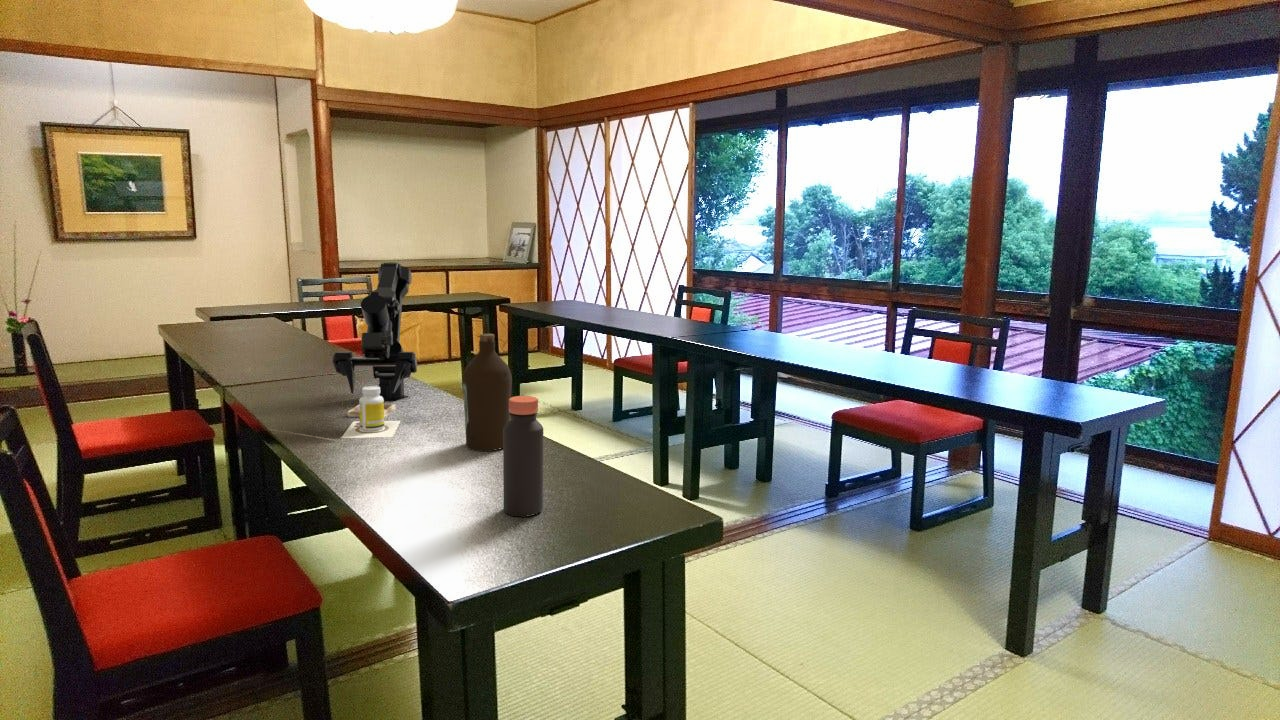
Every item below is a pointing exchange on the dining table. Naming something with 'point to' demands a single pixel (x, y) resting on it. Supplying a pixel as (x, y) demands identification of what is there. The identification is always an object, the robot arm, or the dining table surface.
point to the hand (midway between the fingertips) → (372, 392)
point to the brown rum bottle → (486, 397)
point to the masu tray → (387, 410)
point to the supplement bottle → (371, 409)
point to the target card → (356, 432)
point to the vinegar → (523, 458)
